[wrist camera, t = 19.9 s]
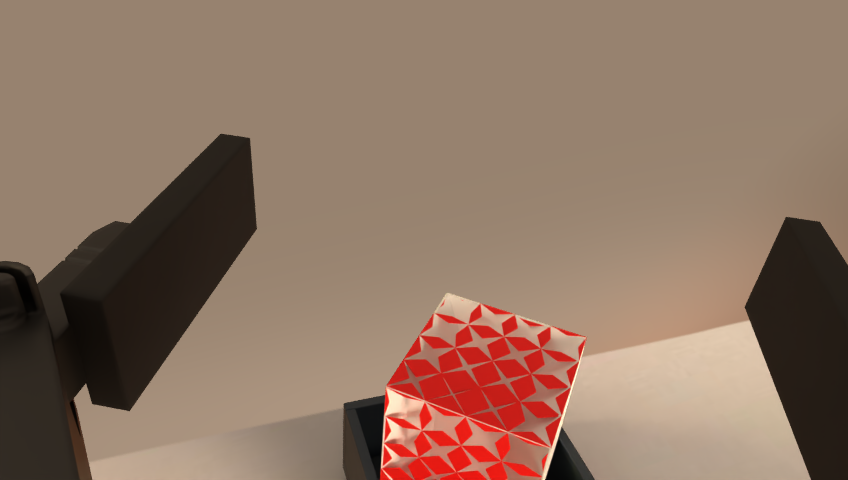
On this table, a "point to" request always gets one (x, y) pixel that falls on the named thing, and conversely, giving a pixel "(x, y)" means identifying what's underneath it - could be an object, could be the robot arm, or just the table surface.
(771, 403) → the table surface
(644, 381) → the table surface
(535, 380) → the red patterned cube
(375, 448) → the bin
